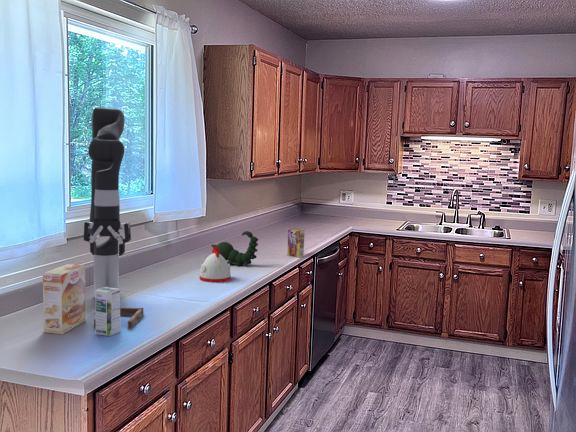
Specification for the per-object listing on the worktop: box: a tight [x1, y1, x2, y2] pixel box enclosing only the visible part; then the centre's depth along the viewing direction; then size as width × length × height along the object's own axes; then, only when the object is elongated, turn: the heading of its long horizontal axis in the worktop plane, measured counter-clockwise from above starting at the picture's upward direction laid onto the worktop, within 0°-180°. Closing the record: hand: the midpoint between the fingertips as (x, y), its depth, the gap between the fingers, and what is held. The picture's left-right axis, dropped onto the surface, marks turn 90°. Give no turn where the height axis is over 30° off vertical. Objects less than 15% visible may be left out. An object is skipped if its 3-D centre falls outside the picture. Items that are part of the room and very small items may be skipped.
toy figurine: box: [210, 230, 259, 267], centre depth 302 cm, size 9×19×25 cm
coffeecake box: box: [42, 263, 87, 335], centre depth 197 cm, size 15×7×20 cm, turn 170°
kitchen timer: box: [199, 246, 232, 283], centre depth 270 cm, size 14×14×15 cm
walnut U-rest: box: [93, 306, 144, 330], centre depth 205 cm, size 16×12×2 cm
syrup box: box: [94, 287, 121, 337], centre depth 192 cm, size 6×6×14 cm
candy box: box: [286, 227, 306, 258], centre depth 329 cm, size 9×4×15 cm, turn 48°
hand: (107, 254), depth 190 cm, fingers open, 8 cm apart
